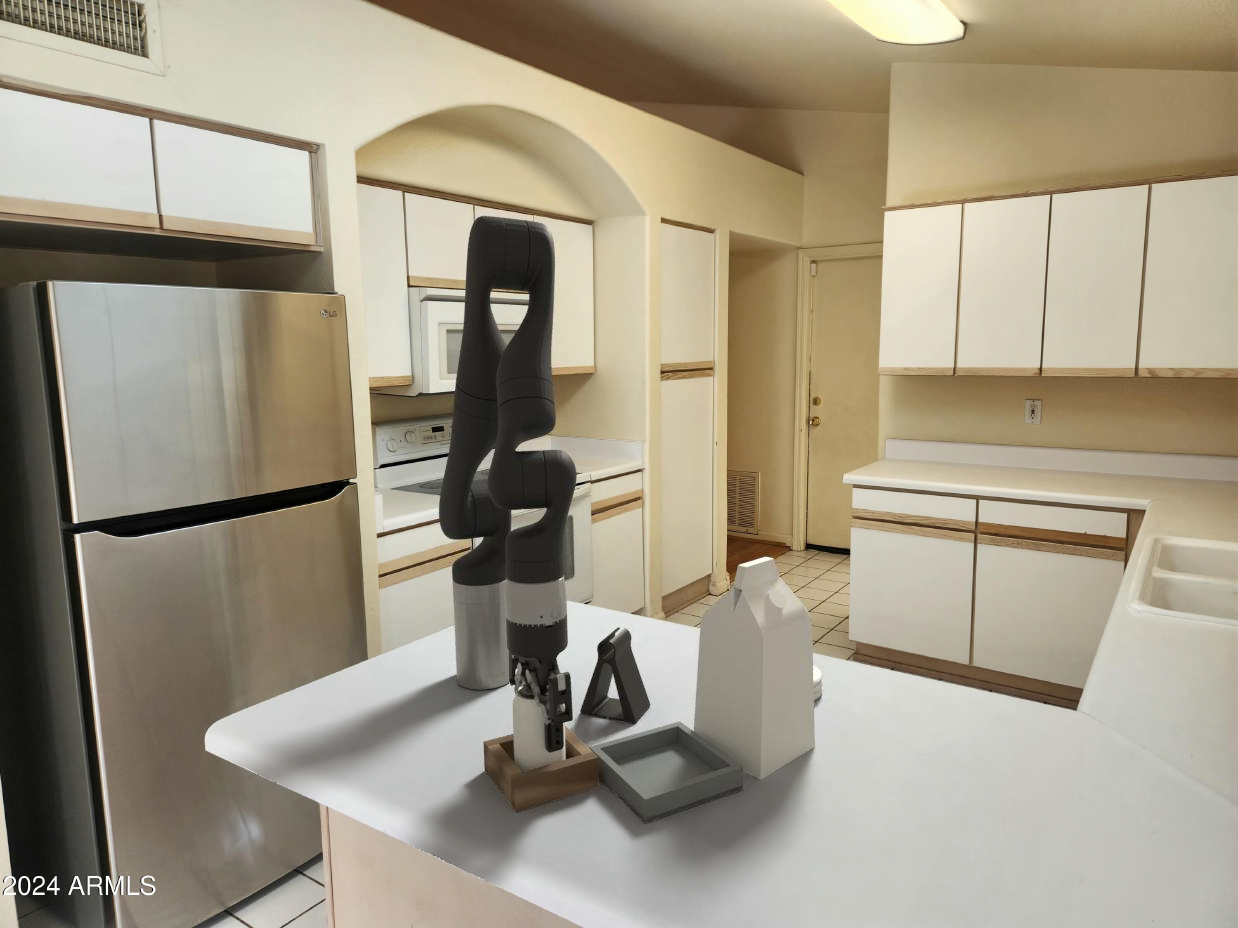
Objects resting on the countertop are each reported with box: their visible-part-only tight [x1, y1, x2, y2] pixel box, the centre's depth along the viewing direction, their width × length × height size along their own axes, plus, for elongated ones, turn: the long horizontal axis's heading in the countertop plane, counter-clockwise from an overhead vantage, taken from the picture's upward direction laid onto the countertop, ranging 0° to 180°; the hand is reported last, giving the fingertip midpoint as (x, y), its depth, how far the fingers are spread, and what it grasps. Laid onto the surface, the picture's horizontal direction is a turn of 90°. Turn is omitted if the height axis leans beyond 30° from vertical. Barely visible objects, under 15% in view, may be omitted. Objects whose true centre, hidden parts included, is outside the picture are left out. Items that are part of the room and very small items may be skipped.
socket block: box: [482, 725, 600, 814], centre depth 102 cm, size 11×11×4 cm
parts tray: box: [588, 721, 744, 824], centre depth 102 cm, size 14×14×3 cm
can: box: [512, 683, 566, 772], centre depth 101 cm, size 6×6×12 cm
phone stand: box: [579, 627, 651, 725], centre depth 120 cm, size 9×6×12 cm, turn 67°
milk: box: [693, 556, 816, 780], centre depth 108 cm, size 12×12×26 cm
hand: (540, 735), depth 101 cm, fingers open, 8 cm apart
